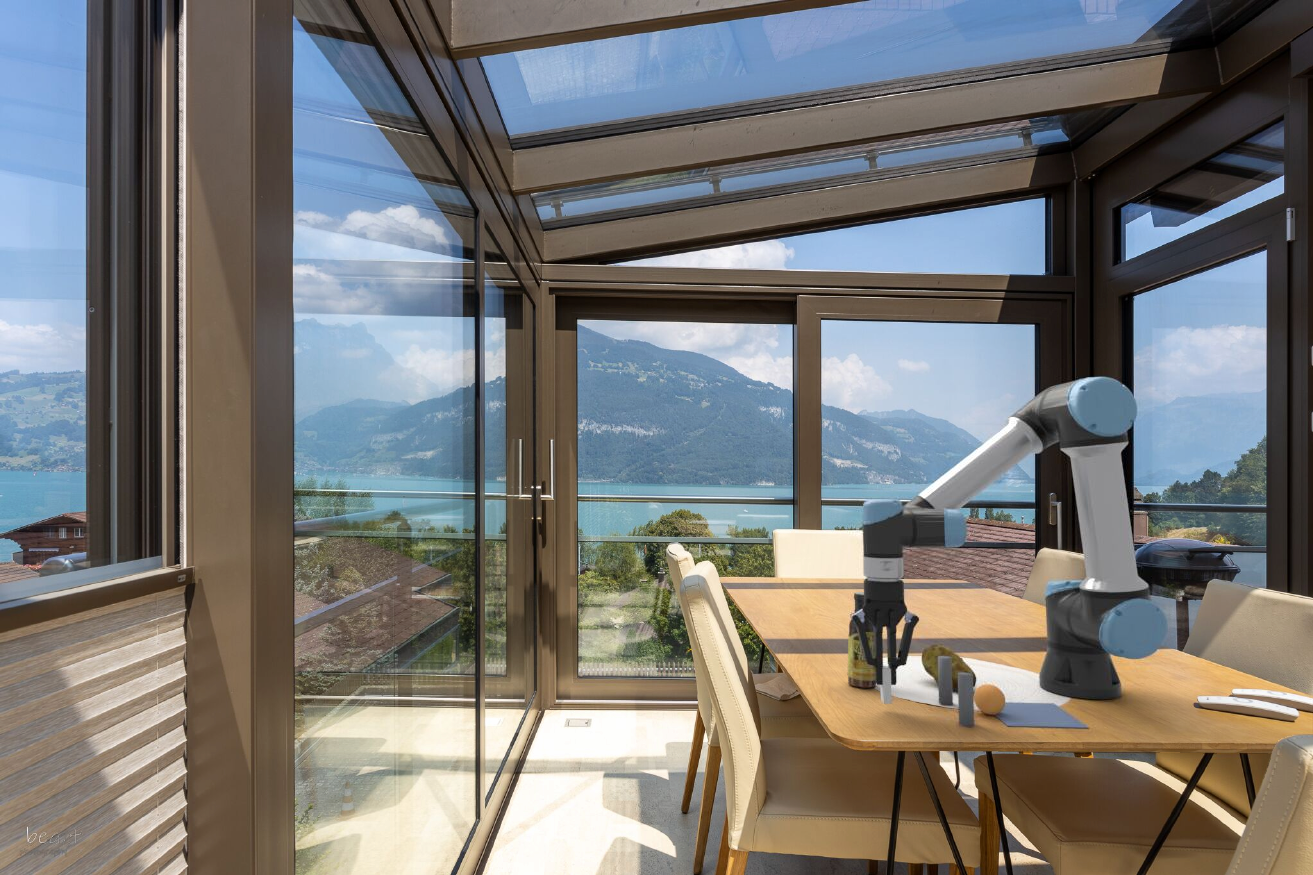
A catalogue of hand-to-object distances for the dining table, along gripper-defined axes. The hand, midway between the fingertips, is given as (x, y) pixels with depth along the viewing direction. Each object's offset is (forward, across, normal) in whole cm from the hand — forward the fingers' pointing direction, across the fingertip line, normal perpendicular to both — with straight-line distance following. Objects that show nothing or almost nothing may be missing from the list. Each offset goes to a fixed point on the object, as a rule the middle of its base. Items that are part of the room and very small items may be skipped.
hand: (886, 701), depth 142 cm
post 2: (+2, +13, -6) cm, 15 cm away
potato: (+2, +17, +19) cm, 26 cm away
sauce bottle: (+2, -1, +18) cm, 18 cm away
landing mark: (+2, +27, 0) cm, 27 cm away
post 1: (+2, +13, +6) cm, 15 cm away
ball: (-1, +19, 0) cm, 19 cm away
